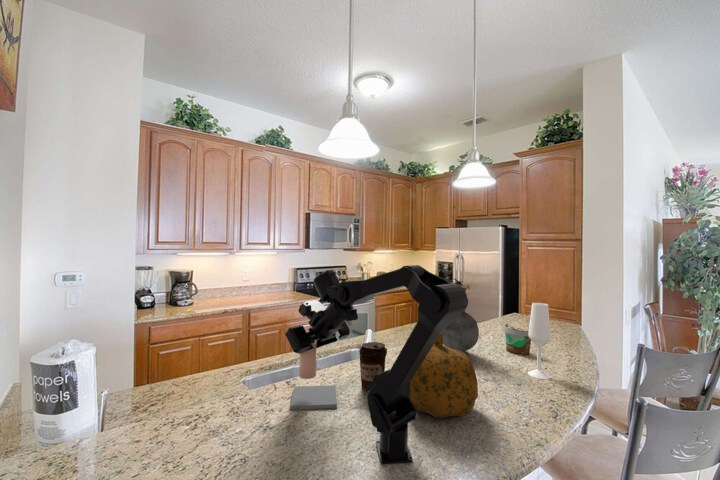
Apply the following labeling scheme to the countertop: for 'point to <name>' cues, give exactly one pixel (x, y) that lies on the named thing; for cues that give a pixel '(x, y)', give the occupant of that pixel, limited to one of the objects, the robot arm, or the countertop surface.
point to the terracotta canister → (308, 363)
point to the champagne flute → (539, 334)
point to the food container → (517, 340)
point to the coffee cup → (371, 362)
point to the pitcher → (461, 330)
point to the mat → (314, 397)
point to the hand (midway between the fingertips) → (305, 350)
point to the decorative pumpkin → (444, 382)
